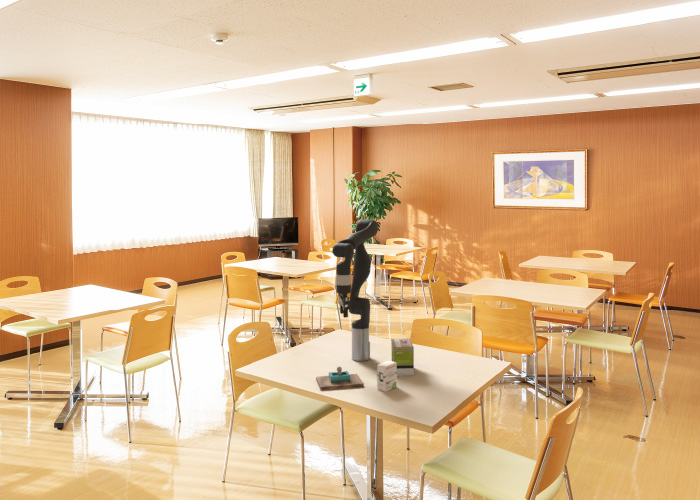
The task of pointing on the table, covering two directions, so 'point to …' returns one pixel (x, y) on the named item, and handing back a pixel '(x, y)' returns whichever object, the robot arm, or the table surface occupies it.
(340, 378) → the teal open frame
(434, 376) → the table surface
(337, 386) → the plate
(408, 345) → the tea box
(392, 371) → the ink box
